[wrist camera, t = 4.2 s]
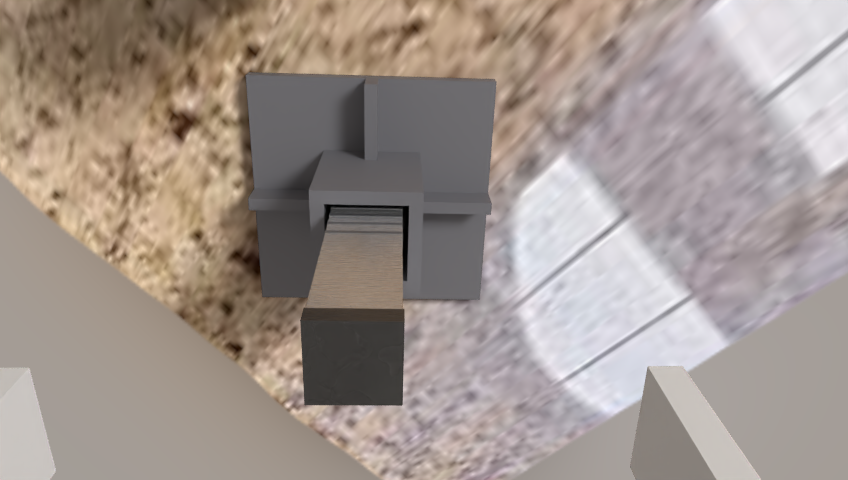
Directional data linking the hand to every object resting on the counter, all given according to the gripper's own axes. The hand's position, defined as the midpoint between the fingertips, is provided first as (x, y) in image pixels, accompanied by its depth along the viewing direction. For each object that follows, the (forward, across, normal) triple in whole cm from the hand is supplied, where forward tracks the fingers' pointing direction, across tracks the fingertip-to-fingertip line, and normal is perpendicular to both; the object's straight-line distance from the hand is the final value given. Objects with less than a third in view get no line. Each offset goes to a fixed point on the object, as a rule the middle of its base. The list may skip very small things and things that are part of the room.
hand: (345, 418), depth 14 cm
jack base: (+32, -1, -6) cm, 32 cm away
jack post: (+31, -1, -6) cm, 31 cm away
